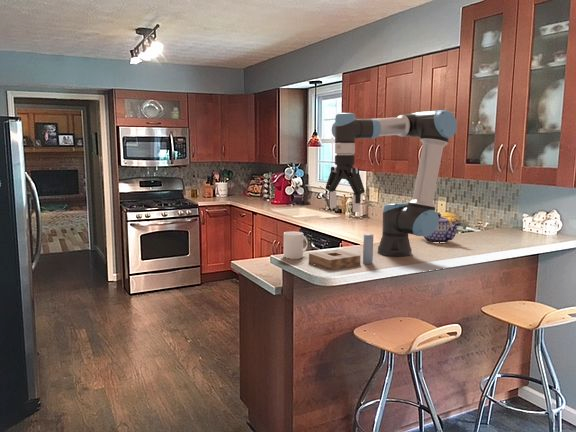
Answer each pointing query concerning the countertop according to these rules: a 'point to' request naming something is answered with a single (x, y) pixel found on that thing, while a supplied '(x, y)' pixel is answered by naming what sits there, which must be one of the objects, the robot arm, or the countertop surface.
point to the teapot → (443, 231)
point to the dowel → (368, 249)
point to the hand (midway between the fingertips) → (344, 209)
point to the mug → (294, 245)
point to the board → (334, 259)
